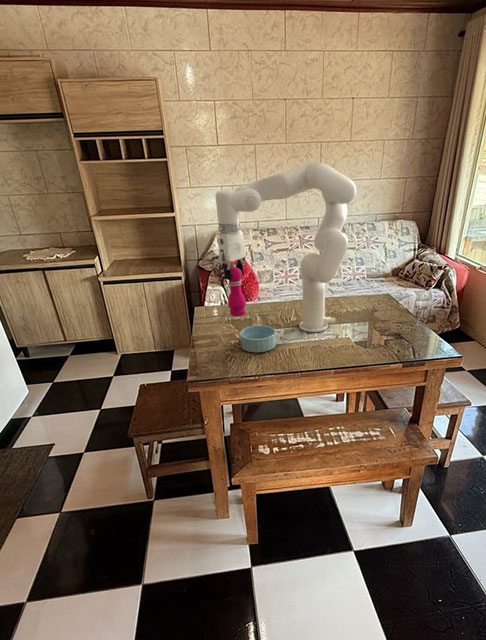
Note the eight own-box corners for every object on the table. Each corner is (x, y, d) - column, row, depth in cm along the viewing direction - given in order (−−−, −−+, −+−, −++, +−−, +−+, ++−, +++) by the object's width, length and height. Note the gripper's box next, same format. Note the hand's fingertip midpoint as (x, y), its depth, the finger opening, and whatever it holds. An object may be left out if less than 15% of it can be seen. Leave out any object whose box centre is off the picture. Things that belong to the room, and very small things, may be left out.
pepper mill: (244, 317, 159) (239, 266, 149) (226, 316, 160) (220, 266, 150) (249, 310, 165) (245, 261, 155) (232, 310, 166) (227, 261, 156)
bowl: (273, 337, 171) (272, 323, 168) (278, 351, 159) (278, 337, 156) (239, 340, 169) (238, 327, 166) (242, 355, 157) (241, 341, 154)
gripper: (220, 233, 138) (226, 284, 147) (252, 224, 150) (256, 272, 159) (204, 231, 143) (211, 281, 151) (237, 223, 154) (242, 270, 163)
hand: (234, 276), depth 155 cm, fingers closed on pepper mill, 6 cm apart
